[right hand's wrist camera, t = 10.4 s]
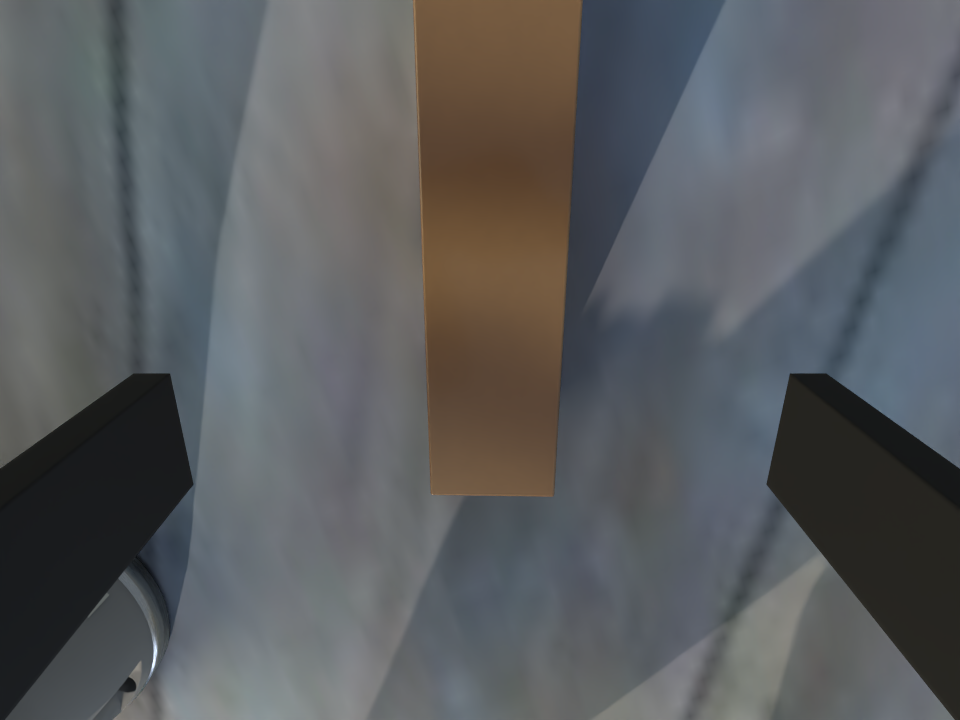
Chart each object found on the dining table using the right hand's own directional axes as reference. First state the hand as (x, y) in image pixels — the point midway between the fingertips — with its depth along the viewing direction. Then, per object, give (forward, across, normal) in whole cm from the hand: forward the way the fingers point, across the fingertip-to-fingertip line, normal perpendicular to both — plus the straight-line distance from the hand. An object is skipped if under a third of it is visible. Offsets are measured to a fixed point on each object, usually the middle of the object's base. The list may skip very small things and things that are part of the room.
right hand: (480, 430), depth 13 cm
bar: (+14, -1, -31) cm, 34 cm away
